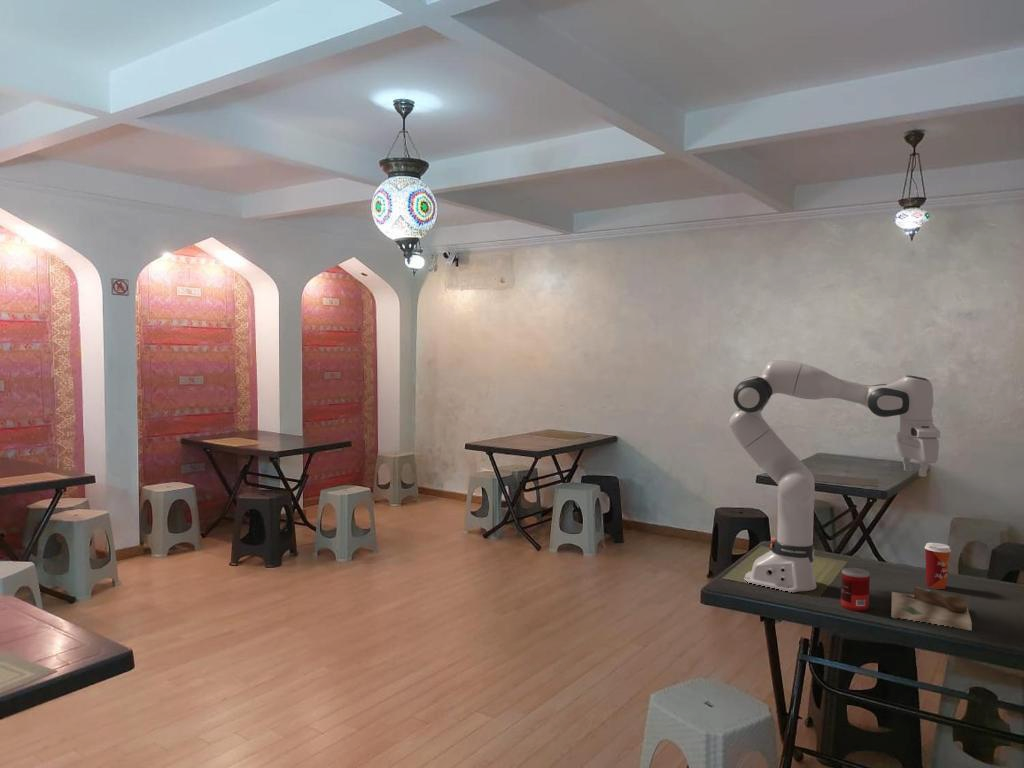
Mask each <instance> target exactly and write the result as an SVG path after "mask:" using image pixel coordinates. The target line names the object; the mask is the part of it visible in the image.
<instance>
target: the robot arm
mask: <svg viewBox="0 0 1024 768" xmlns="http://www.w3.org/2000/svg"><path fill="white" fill-rule="evenodd" d="M762 370H763V371H762V373H761V375H760V376H755V375H754V376H749V377H747V378H743V380H741V381H740V382H739V383H738V385H736V387H735V388H734V391H733V393H732V394H733V395H732V396H733V397H732V398H733V402H734V404H735V406H736V407H737V410H736V411H734V413H732V415H731V416H730V418H729V420H728V425H729V428H730V430H731V432H732V434H733V435H734V437H735V438H736V440H737V441H738V443H739V444H740V445H741V446H742V448H744V450H745V451H746V453H748V455H749V456H750V457H751V459H752V460H753V461H754V462H755V463H756V464H757V466H758V467H759V468H761V469H762V470H763V471H764V472H765V473H766V474H767V475H768V476H769V477H770V478H771V479H772V480H773V481H774V482H775V484H776V485H777V525H776V526H777V528H776V530H777V532H776V537H772V538H771V540H770V547H769V549H770V550H769V551H767V552H765V553H764V554H763V555H762V554H761V555H760V556H759V557H757V558H756V559H755V560H754V563H753V564H752V568H751V570H749V571H748V572H746V573H745V574H744V581H745V580H746V581H747V582H748V583H747V582H746V583H747V584H749V583H752V584H751V585H753V584H756V585H755V586H758V585H761V586H760V587H762V586H765V587H764V588H767V587H770V588H769V589H772V588H775V589H774V590H776V589H779V590H778V591H781V590H782V591H781V592H785V591H788V592H787V593H791V592H792V593H797V592H809V591H814V590H816V589H817V587H818V586H817V583H816V579H815V573H814V571H815V570H814V564H813V563H814V560H815V544H814V543H813V542H814V540H813V539H814V519H815V518H814V514H815V513H814V512H815V510H814V509H815V486H816V485H815V476H814V475H813V473H812V471H810V469H809V468H808V467H807V466H806V465H805V464H804V462H803V461H802V460H800V458H799V457H798V456H797V455H796V454H795V453H794V452H793V451H792V450H791V449H790V448H789V447H788V446H787V445H786V444H785V443H784V441H783V440H782V439H781V438H780V437H779V435H778V434H777V433H776V432H775V431H774V430H773V429H772V427H771V426H770V425H769V424H768V423H767V422H766V420H765V419H764V417H763V415H762V411H763V409H764V408H765V407H766V406H767V404H768V403H769V402H770V400H771V398H772V396H773V395H776V394H782V395H785V396H790V397H794V398H798V399H805V400H820V399H821V400H822V399H839V400H844V401H847V402H851V403H855V404H856V403H857V404H860V405H862V406H865V407H866V408H868V409H869V410H870V411H871V413H873V414H874V415H875V416H877V417H879V418H880V417H881V418H889V417H894V416H899V430H898V432H897V434H896V439H895V447H894V449H895V454H896V455H899V456H901V459H902V464H903V470H904V471H905V472H912V470H913V466H912V465H911V464H912V463H911V460H914V461H917V462H919V465H920V467H919V469H918V471H917V472H918V473H917V475H918V476H919V477H923V478H924V477H927V475H928V473H927V472H928V469H929V467H930V464H936V463H937V461H938V459H939V450H940V449H939V448H940V442H939V439H938V438H940V437H941V430H939V428H937V427H936V426H935V423H933V422H934V418H933V413H932V411H933V407H934V389H933V384H932V382H931V381H930V380H929V379H927V378H925V377H923V376H922V377H921V376H917V375H909V374H908V375H903V376H902V377H901V378H900V379H898V380H896V381H893V382H890V383H888V384H887V383H880V384H874V385H873V384H872V385H867V384H863V383H857V382H853V381H849V380H844V379H841V378H838V377H836V376H834V375H832V374H830V373H829V372H827V371H824V370H822V369H820V368H818V367H815V366H812V365H809V364H805V363H801V362H797V361H791V360H781V359H774V360H771V361H769V362H768V363H767V364H766V365H765V367H764V368H763V369H762Z"/></svg>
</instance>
